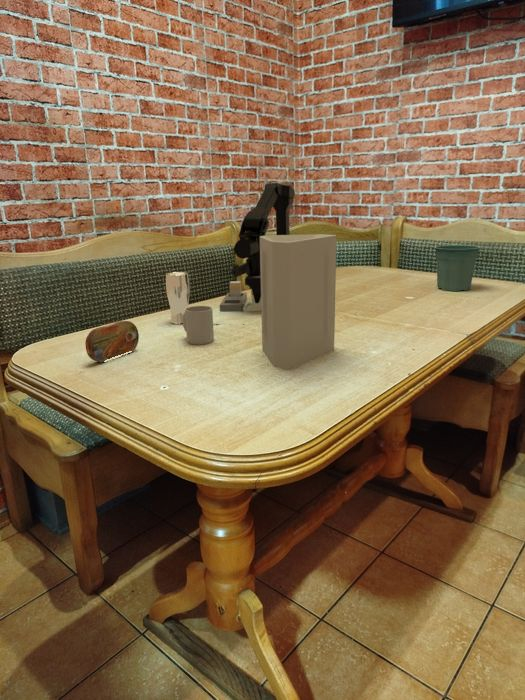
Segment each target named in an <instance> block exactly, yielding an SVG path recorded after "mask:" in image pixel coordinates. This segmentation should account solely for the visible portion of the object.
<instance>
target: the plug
mask: <svg viewBox="0 0 525 700" xmlns="http://www.w3.org/2000/svg"><path fill="white" fill-rule="evenodd" d="M250 292H251V293H250V294H251V303H252V308H261V298H260V301H259V303H255V300H254V296H253V292H252V289H251V288H250Z"/></svg>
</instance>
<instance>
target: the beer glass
mask: <svg viewBox="0 0 525 700" xmlns="http://www.w3.org/2000/svg"><path fill="white" fill-rule="evenodd" d="M165 291H166V296H167V299H168V303H169V304H168V305H169V308H170V322H169V323H170V324H172V323H177V324H176V325H181V324H180V323H183V314H184V313H185V309H186V308H188V307H189V300H190V280H189V274H188V272H185V271H171V272H167V273H166V274H165Z"/></svg>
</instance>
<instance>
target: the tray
mask: <svg viewBox="0 0 525 700" xmlns="http://www.w3.org/2000/svg"><path fill="white" fill-rule="evenodd" d="M242 312H261V308H252V302H245V304H244V307H243V309H242Z"/></svg>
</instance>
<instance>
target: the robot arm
mask: <svg viewBox="0 0 525 700" xmlns="http://www.w3.org/2000/svg"><path fill="white" fill-rule="evenodd" d="M295 193H296V192H295V188H293V186H292V185H290V184H282V183H279V182H269V183H268V182H267V183H266V184H265V185H264V190H263V191H262V194H261V195H260V197H259V199H258V201H257V203H256V205H255V207H254V208H253V209H251V210H249V211H248V212H246V214H245V216H244V217H243V219H242V223H241V226H240V230H239V233H238V238H239V240H237V242H235V244H234V247H233V250H234V253H235V255H236V256H237V257H238V258H239V259H245V262H242V263H240V264H238V263H236V264H234V265H232V267H230V269H229V270H230V273H231V276H232V278H233V279H236V278H238V277H240V276H242V275H246V276H245V278H244V285H245V286H247V287H249V288H250V290H251V289H252V292H253V296H254V300H255V303H259V301H260V298H261V272H260V236H266V234H267V230H268V229H269V226H270V222H269V215H270V214H271V211H272V209H273V210H274V211H275V226H276V227H275V229H276V230H275V233H276V234H275V235H290V209H291V208H292V207H293V204H294V200H295V199H294V198H295V195H296V194H295Z"/></svg>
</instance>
